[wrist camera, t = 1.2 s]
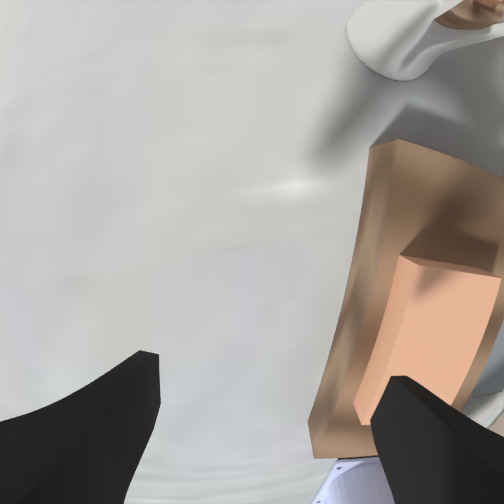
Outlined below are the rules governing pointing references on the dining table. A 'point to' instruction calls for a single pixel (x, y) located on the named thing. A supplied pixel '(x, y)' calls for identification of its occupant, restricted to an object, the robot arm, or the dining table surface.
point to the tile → (428, 329)
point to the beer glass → (419, 32)
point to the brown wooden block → (384, 266)
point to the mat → (492, 369)
